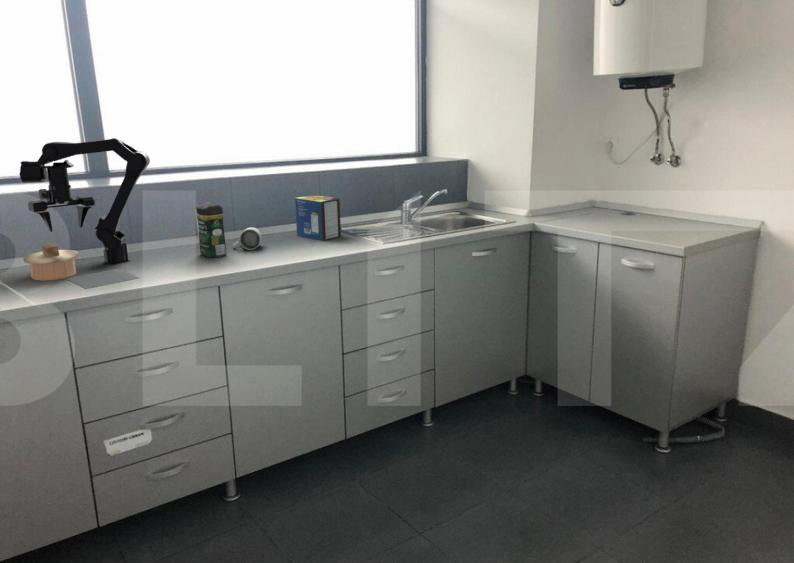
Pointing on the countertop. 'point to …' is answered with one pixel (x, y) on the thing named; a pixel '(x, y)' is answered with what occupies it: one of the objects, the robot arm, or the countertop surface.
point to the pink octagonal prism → (53, 270)
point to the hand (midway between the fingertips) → (66, 229)
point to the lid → (50, 255)
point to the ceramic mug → (249, 239)
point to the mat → (102, 278)
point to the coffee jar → (211, 229)
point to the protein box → (318, 217)
